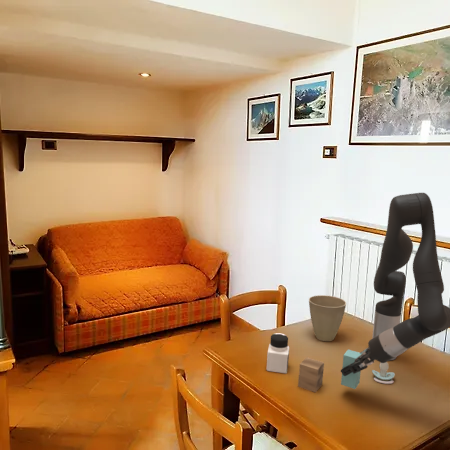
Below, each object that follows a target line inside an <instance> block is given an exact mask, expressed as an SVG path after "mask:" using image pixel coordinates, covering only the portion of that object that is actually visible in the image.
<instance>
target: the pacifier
mask: <svg viewBox="0 0 450 450" xmlns="http://www.w3.org/2000/svg"><path fill="white" fill-rule="evenodd" d="M389 365H390V364H389V362H388V361H387V362H386V363H381V362H379V371H376V370H374V369H372V370H371V372H372V375H374V377H373V380H374V381H375V382H376V383H380V384H385V385H391V384H393V383H394V382H395V381H394V380H393V379H394V377H395V375H396V374H395V372H392V371H390V372H388V370H389V367H390V366H389Z"/></svg>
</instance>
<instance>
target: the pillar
mask: <svg viewBox="0 0 450 450" xmlns="http://www.w3.org/2000/svg"><path fill="white" fill-rule="evenodd" d="M360 355H361V354H360V352H359V351H355V350H351V349H347V350H346V351H345V353H344V354H343V357H342V368H341V369H343V368H344V367H346V366H348V365H350V363H352V362H354V361H355V359H356V358H357V357H358V356H360ZM358 361H359V359H358ZM361 371H362V370H361ZM361 371H359V372H357V373H355V374H353V372H352V373H350V374H348V375H347V376H344V375H343V374H342V373H341V380H340V385H342V386H344V387H348V388H350V389H353V390H356V389H357V387H359V384H360V381H361Z"/></svg>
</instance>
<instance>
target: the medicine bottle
mask: <svg viewBox="0 0 450 450" xmlns="http://www.w3.org/2000/svg"><path fill="white" fill-rule="evenodd" d="M269 342H270V343H269V344H268V349H267V354H266V355H267V356H266V371H267V372H275V373H278V374H279V373H281V374H287V373H288V370H289V358H290V357H289V356H290V346H289V345H288V344H289V337H288V335H286V334H284V333H279V332H278V333H273V334H272V335H270V341H269Z"/></svg>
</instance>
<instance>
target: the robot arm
mask: <svg viewBox="0 0 450 450" xmlns="http://www.w3.org/2000/svg"><path fill="white" fill-rule="evenodd" d="M388 207H389V210H388V218H387V219H388V220H387V227H386V231H385V236H384V240H383V244H382V248H381V252H380V253H381V254H380V257H379V258H380V259H379V263H378V266H377V269H376V271H375V274H374V277H373V290H374V291H375V292H376V293H377V294H380V295H383V296H384V295H386V296H391V297H390V298H388V299H383V300H381V301H378V302H376V304H375V309H374V319H373V328H372V338H371V339H370V340H368V343H367V344H368V346H367V347H366V348H365V349H364V350H362V351H360V352H359V353H360V354H361V355H360V356H358V357H357V358H356V359H355V361H354V362H352V363H350V365H348V366H346V367H344V368H343V369H342V368H341V369H340V374H341V375H342V374H343V375H344V376H347V375H348V374H350V373H352V372H353V374H355V373H357V372H359V371H363V370H366V369H367V368H368V366H371V365H372V364H373V365H374V363H375V361H377V362H379V363H386V362H387V363H388V362H389V361H395V360H396V359H397V357H398V356H400V355H402V354H404V353H405V352H406V351H407V350H409V349H410V348H412V347H414V346H416V345H418V344H419V343H420V342H422V341H424V340H426V339H428V338H431V337H434V336H435V335H438V334H440V333H442V332H444V331H446V330H448V329H449V328H450V307H449V306H447V305H445V304H444V301H443V295H442V294H443V293H444V290H445V286H444V285H445V284H444V281H443V276H442V272H441V269H440V263H439V258H438V251H437V250H438V249H437V237H436V236H437V235H436V225H435V224H436V223H435V215H434V207H433V204H432V200H431V198H430V196H429V195H428V194H427V193H426V192H415V193H413V192H412V193H408V194H407V193H406V194H399V195H395V196H394V197H393V198H392V199H391V201H390V203H389V206H388ZM414 225H420V226H421V227H420V228H421V238H420V243H419V245H418V246H417V247H418V248H417V250H416V253H415V255H414V258H413V261H412V272H413V278H414V283H415V287H416V290H417V299H416V300H417V313H418V315H416V316H414V317H413V318H409V319H405V320H403V321H401V320H402V310H403V302H404V297H405V296H404V295H405V291H406V290H405V289H406V285H407V283H406V282H407V277H406V273H404V271H398V270H400V269H401V268H403V267H404V266H406V265H407V264H408V263H409V261H410V259H411V256H412V254H413V249H414V243H413V241H412V238H411V237H410V236H409V235H408V234H407V233H406V231H404V229H402V228H403V227H406V226H414ZM358 359H359V361H358Z"/></svg>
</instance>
